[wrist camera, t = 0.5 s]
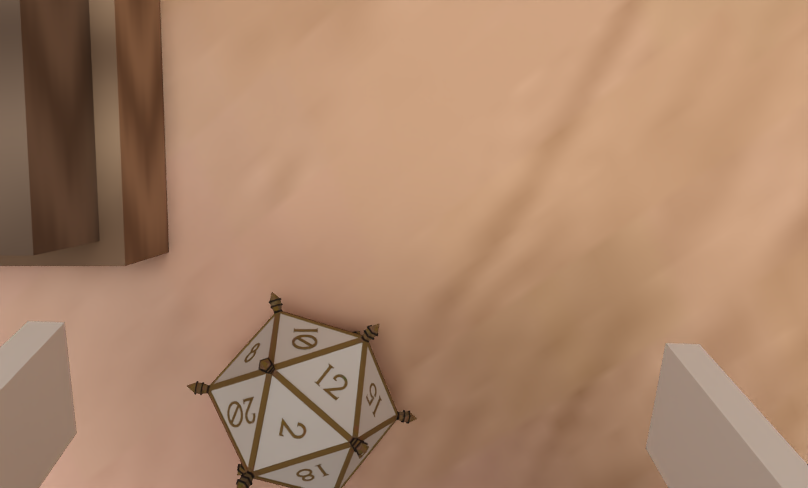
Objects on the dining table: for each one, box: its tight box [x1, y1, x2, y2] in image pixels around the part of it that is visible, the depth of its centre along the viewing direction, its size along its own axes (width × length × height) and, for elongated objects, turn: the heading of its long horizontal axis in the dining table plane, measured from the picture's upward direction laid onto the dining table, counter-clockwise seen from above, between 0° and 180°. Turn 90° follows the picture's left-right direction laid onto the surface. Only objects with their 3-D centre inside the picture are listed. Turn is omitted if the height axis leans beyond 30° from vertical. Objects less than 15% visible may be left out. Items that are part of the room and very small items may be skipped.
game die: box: [187, 292, 417, 488], centre depth 31 cm, size 9×8×10 cm
